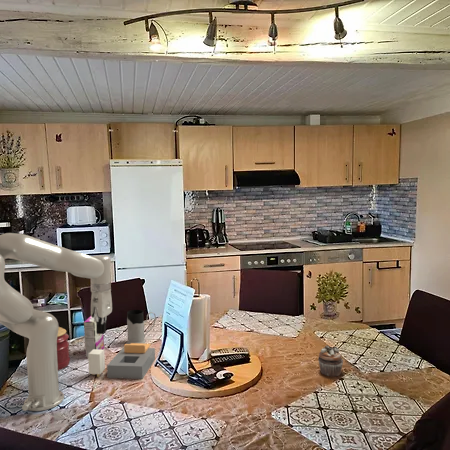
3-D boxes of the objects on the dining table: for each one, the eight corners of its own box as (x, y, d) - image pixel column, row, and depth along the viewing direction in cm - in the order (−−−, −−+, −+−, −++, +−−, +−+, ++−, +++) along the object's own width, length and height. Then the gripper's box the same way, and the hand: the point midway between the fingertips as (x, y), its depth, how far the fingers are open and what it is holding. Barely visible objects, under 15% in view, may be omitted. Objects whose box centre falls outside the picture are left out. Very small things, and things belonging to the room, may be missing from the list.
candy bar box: (93, 348, 186) (92, 313, 185) (104, 348, 186) (103, 313, 185) (84, 358, 175) (83, 321, 173) (96, 358, 175) (94, 321, 173)
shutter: (144, 353, 167) (144, 345, 166) (124, 352, 168) (124, 344, 167) (150, 345, 175) (150, 338, 175) (130, 344, 176) (130, 337, 176)
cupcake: (315, 374, 157) (315, 349, 156) (321, 364, 165) (321, 341, 164) (340, 379, 152) (340, 354, 151) (345, 369, 161) (345, 345, 160)
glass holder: (125, 340, 195) (124, 310, 193) (153, 336, 201) (153, 306, 199) (128, 347, 187) (127, 315, 185) (158, 342, 193) (157, 311, 191)
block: (100, 377, 156) (99, 354, 155) (89, 377, 157) (88, 354, 156) (105, 372, 161) (104, 349, 160) (94, 372, 161) (93, 349, 160)
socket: (142, 378, 155) (142, 366, 154) (107, 377, 156) (107, 365, 156) (155, 359, 173) (154, 348, 172) (123, 358, 174) (123, 347, 174)
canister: (57, 374, 160) (55, 331, 159) (29, 371, 163) (26, 329, 161) (76, 360, 173) (74, 320, 171) (49, 358, 175) (47, 319, 174)
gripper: (102, 291, 149) (102, 340, 150) (117, 283, 164) (117, 327, 165) (82, 290, 150) (83, 339, 151) (99, 283, 165) (100, 327, 166)
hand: (101, 333), depth 158 cm, fingers closed
